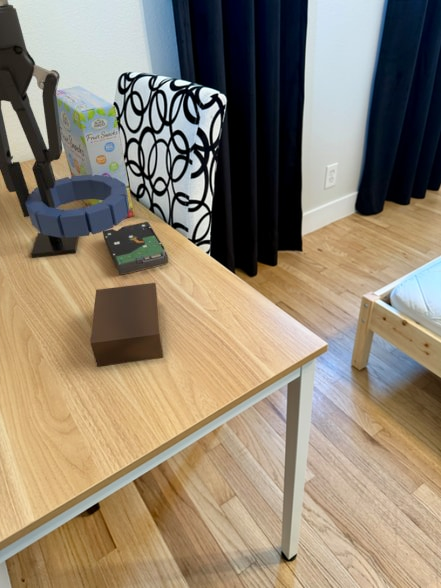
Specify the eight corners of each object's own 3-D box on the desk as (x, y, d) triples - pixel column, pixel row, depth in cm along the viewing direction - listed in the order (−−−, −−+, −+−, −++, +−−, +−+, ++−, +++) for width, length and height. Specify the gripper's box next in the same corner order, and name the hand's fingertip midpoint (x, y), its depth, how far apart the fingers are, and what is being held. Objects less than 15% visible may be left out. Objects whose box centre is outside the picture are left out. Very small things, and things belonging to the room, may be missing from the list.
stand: (97, 366, 65) (90, 342, 62) (101, 312, 75) (95, 289, 72) (163, 357, 66) (159, 333, 63) (159, 305, 76) (155, 282, 73)
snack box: (72, 194, 114) (45, 90, 98) (103, 186, 118) (82, 84, 102) (102, 226, 100) (76, 110, 84) (136, 216, 103) (118, 102, 87)
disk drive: (103, 242, 94) (119, 276, 83) (101, 231, 93) (116, 264, 82) (149, 231, 97) (170, 263, 86) (147, 220, 96) (168, 251, 85)
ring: (24, 242, 54) (17, 221, 52) (41, 198, 64) (35, 178, 62) (128, 231, 55) (125, 210, 54) (129, 190, 66) (126, 171, 64)
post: (31, 258, 90) (11, 200, 82) (39, 236, 97) (21, 182, 89) (75, 253, 91) (60, 196, 83) (79, 232, 98) (65, 178, 90)
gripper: (-121, 10, 40) (-27, 230, 55) (46, 4, 42) (94, 218, 57) (-89, 4, 46) (-12, 204, 61) (56, -2, 48) (98, 194, 62)
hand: (39, 210), depth 59 cm, fingers closed on ring, 2 cm apart
